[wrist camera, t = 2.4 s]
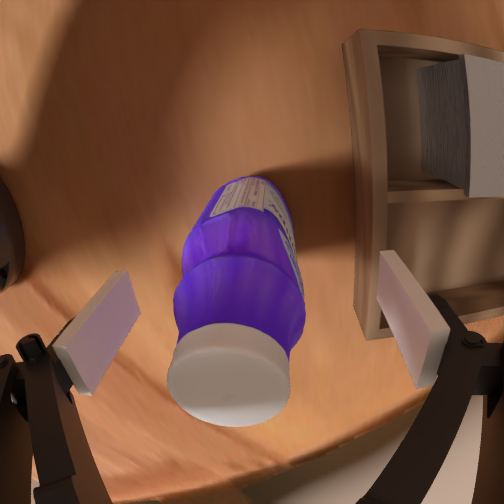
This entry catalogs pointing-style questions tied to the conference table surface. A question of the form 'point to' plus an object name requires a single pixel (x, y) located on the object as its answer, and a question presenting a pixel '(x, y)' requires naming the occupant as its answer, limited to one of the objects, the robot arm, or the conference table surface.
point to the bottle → (237, 307)
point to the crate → (414, 186)
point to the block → (464, 123)
